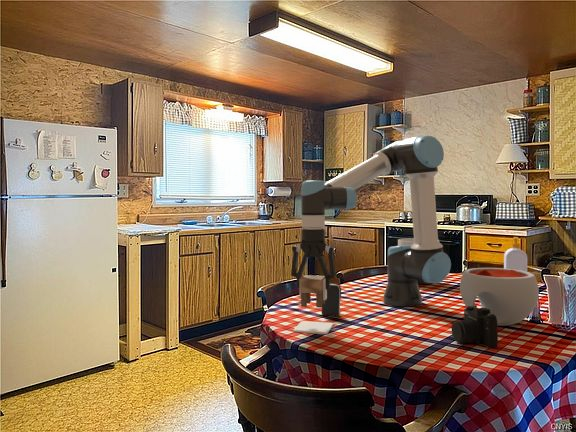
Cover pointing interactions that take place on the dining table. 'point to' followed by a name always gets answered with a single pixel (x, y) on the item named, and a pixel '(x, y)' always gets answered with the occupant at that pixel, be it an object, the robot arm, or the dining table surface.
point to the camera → (477, 327)
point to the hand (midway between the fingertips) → (313, 298)
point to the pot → (501, 292)
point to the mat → (313, 327)
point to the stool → (311, 289)
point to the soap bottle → (515, 257)
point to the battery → (332, 301)
